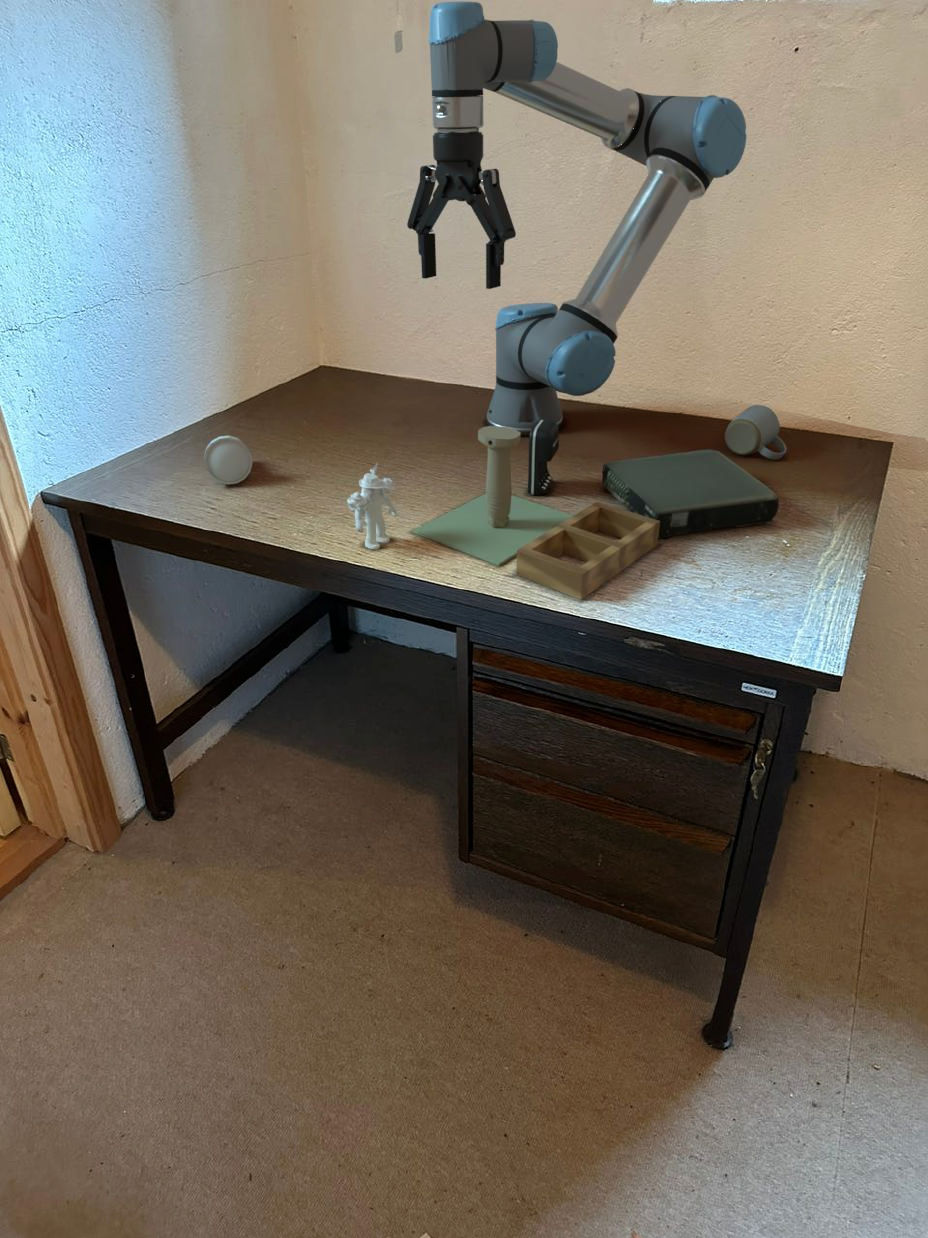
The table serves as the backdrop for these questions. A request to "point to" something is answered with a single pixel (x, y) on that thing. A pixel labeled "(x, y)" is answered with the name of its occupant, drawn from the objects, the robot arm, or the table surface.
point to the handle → (498, 471)
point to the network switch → (690, 491)
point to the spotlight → (228, 460)
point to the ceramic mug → (755, 433)
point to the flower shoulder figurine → (372, 507)
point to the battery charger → (541, 455)
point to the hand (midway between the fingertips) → (460, 282)
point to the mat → (492, 528)
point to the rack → (587, 549)
